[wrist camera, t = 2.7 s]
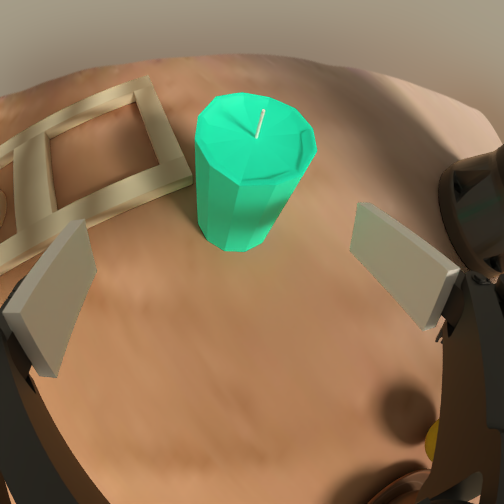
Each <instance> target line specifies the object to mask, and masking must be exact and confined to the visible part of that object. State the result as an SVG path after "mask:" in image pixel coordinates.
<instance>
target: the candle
mask: <svg viewBox="0 0 504 504" xmlns="http://www.w3.org/2000/svg"><path fill="white" fill-rule="evenodd" d="M316 152H317V146H316V141H315V136H314V131H313V128H312V127H311V126H310V124H309V123H308V122H307V121H306V120H305V118H304V117H303V116H302V115H301V114H300V113H299V112H298V110H297V109H296V108H293V107H291V106H289V105H287V104H284V103H282V102H280V101H278V100H275V99H273V98H270V97H266V96H260V95H255V94H249V93H243V92H241V93H234V94H228V95H222V96H216V97H215V98H214V99H213V100H212V101H211V103H210V104H209V105H208V106H207V107H206V108H205V109H204V110H203V111H202V112H201V113H200V115H199V116H198V121H197V127H196V134H195V167H196V194H197V214H198V225H199V226H200V228H201V230H202V232H203V234H204V236H205V237H206V239H207V241H209V242H210V243H212V244H214V245H215V246H217V247H219V248H220V249H222V250H224V251H236V252H246V251H247V250H249V249H251V248H253V247H255V246H257V245H259V244H261V243H262V242H263V241H264V239H265V237H266V236H267V234H268V232H269V231H270V229H271V227H272V226H273V224H274V222H275V221H276V219H277V218H278V216H279V214H280V213H281V211H282V209H283V208H284V206H285V204H286V203H287V201H288V199H289V198H290V196H291V194H292V193H293V191H294V189H295V188H296V186H297V184H298V183H299V181H300V179H301V178H302V176H303V174H304V173H305V171H306V169H307V168H308V166H309V164H310V163H311V161H312V159H313V158H314V156H315V154H316Z"/></svg>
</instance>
